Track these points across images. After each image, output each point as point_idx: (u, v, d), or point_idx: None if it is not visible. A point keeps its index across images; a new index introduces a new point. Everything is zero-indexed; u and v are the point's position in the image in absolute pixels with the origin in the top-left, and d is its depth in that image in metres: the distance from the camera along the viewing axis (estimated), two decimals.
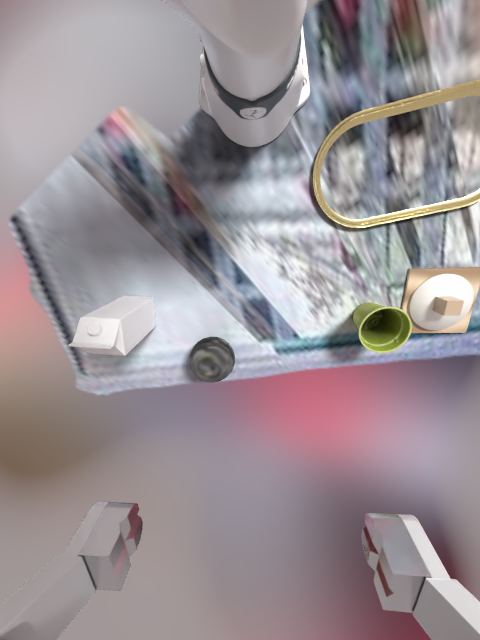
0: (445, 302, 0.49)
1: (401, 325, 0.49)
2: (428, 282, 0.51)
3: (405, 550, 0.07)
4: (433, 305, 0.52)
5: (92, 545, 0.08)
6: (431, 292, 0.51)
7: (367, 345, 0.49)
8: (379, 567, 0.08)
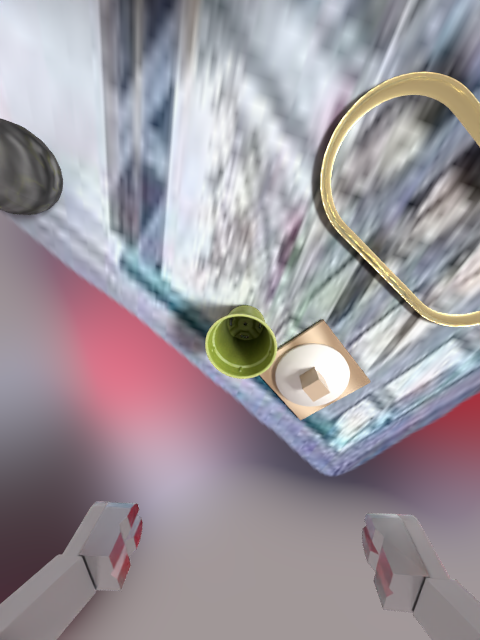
0: (316, 378, 0.38)
1: (260, 359, 0.35)
2: (323, 348, 0.40)
3: (405, 550, 0.07)
4: (304, 373, 0.42)
5: (92, 545, 0.08)
6: (315, 359, 0.40)
7: (209, 346, 0.34)
8: (379, 567, 0.08)
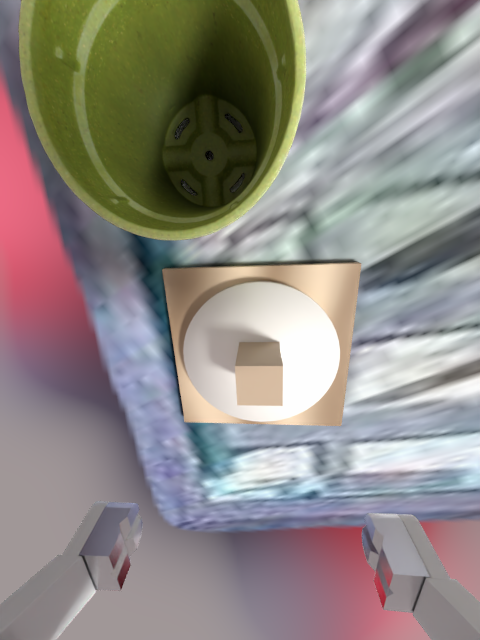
0: (276, 361, 0.16)
1: (194, 217, 0.11)
2: (320, 316, 0.18)
3: (405, 550, 0.07)
4: (252, 343, 0.19)
5: (92, 545, 0.08)
6: (290, 329, 0.18)
7: (54, 13, 0.08)
8: (379, 567, 0.08)
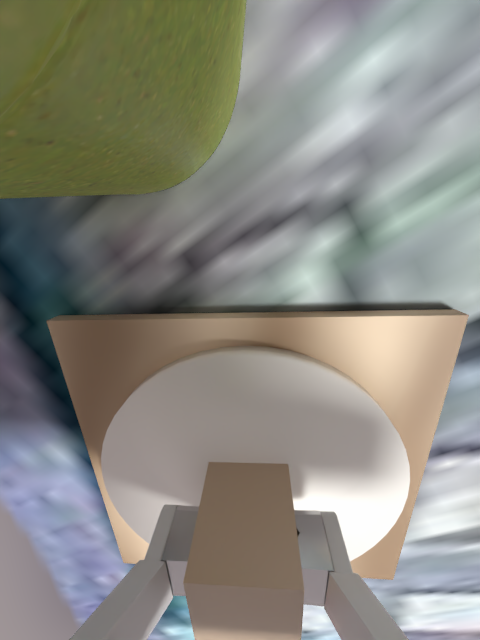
0: (286, 562, 0.07)
1: None
2: (376, 422, 0.08)
3: (316, 545, 0.07)
4: (235, 464, 0.10)
5: (172, 550, 0.07)
6: (312, 444, 0.09)
7: None
8: None
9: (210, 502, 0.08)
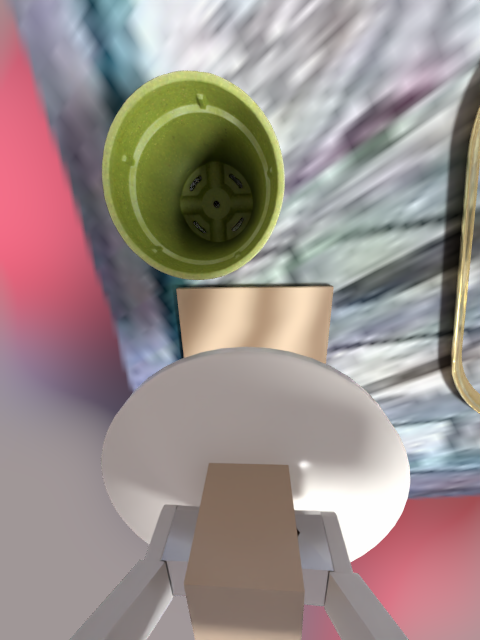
0: (286, 563, 0.07)
1: (209, 260, 0.16)
2: (376, 423, 0.09)
3: (316, 545, 0.07)
4: (235, 465, 0.10)
5: (172, 550, 0.07)
6: (312, 445, 0.09)
7: (125, 138, 0.13)
8: None
9: (210, 503, 0.08)
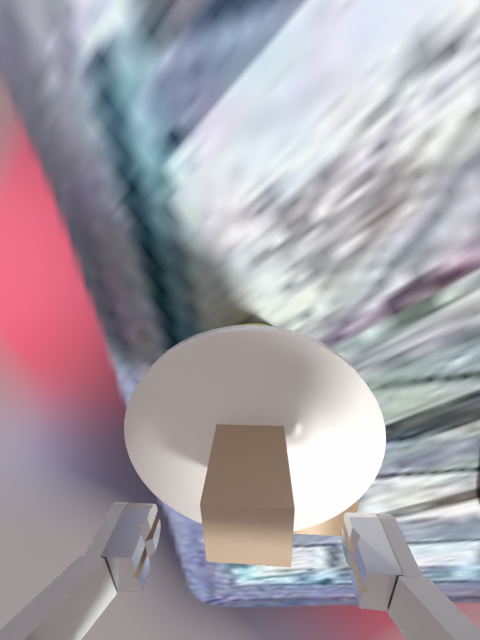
0: (280, 491, 0.08)
1: None
2: (357, 389, 0.10)
3: (380, 549, 0.07)
4: (239, 426, 0.11)
5: (114, 546, 0.08)
6: (304, 408, 0.11)
7: None
8: (356, 566, 0.08)
9: (219, 452, 0.10)
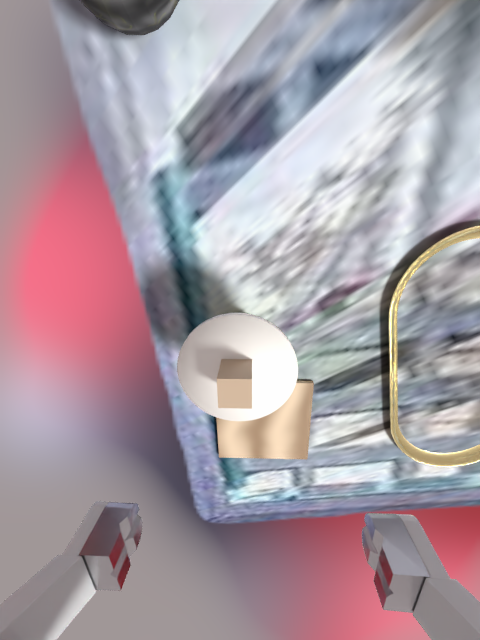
0: (247, 375, 0.22)
1: None
2: (283, 340, 0.24)
3: (405, 550, 0.07)
4: (231, 360, 0.25)
5: (92, 545, 0.08)
6: (260, 350, 0.24)
7: None
8: (379, 567, 0.08)
9: (223, 366, 0.23)
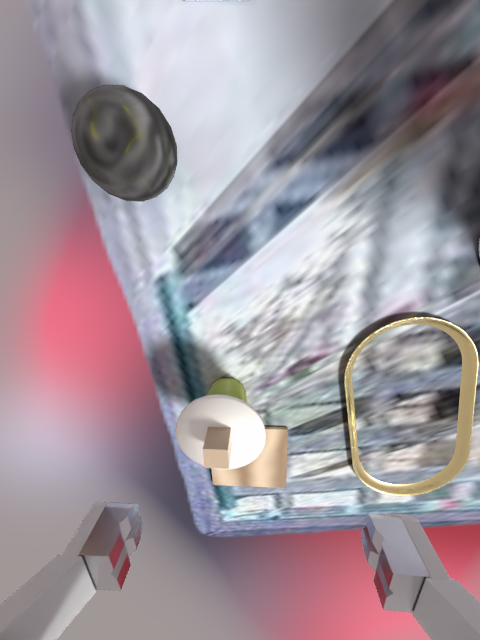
0: (225, 446, 0.30)
1: None
2: (253, 415, 0.32)
3: (405, 550, 0.07)
4: (215, 427, 0.33)
5: (92, 545, 0.08)
6: (237, 421, 0.32)
7: None
8: (379, 567, 0.08)
9: (208, 435, 0.32)
